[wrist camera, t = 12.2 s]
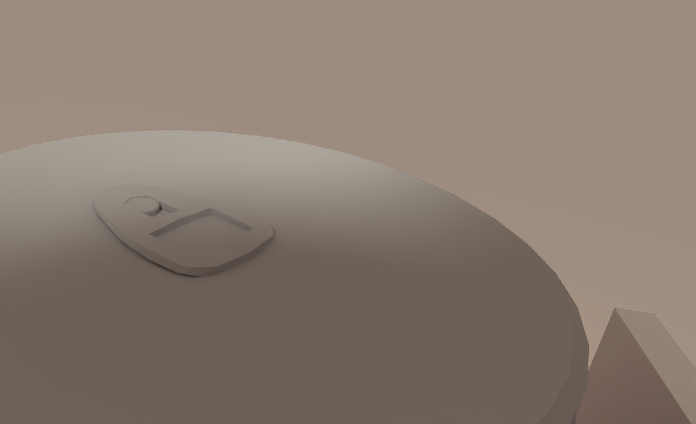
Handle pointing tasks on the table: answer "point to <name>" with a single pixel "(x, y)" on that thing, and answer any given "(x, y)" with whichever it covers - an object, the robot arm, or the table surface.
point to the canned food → (267, 291)
